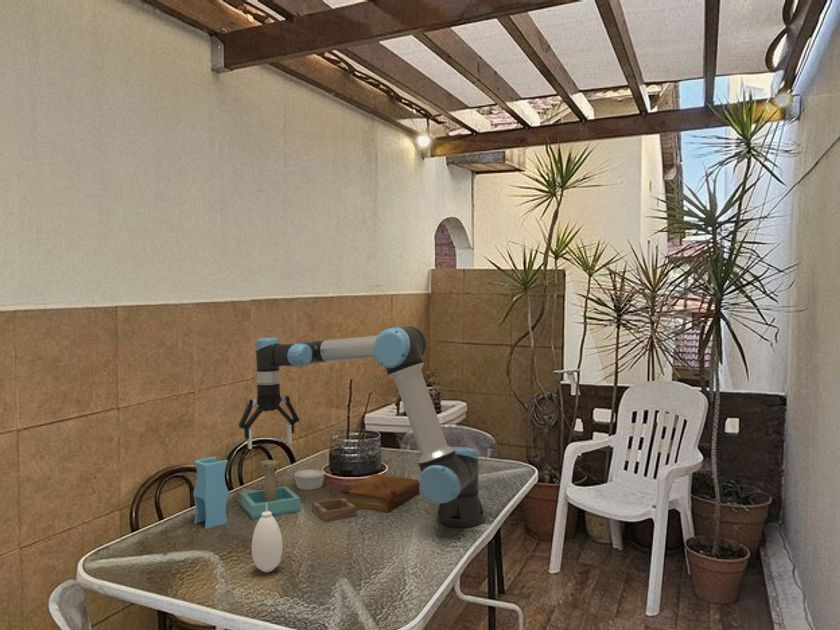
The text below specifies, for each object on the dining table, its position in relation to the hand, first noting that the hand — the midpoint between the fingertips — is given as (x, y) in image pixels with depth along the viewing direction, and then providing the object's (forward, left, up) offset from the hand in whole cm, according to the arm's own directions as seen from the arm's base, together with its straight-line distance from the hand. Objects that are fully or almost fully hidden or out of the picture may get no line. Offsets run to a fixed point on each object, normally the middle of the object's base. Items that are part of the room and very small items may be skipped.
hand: (270, 445), depth 212 cm
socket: (-16, -17, -22) cm, 31 cm away
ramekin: (+18, -20, -22) cm, 35 cm away
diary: (-10, -37, -22) cm, 44 cm away
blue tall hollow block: (-4, +20, -22) cm, 30 cm away
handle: (0, 0, -21) cm, 21 cm away
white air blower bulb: (-49, +14, -22) cm, 55 cm away
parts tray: (0, 0, -22) cm, 22 cm away
